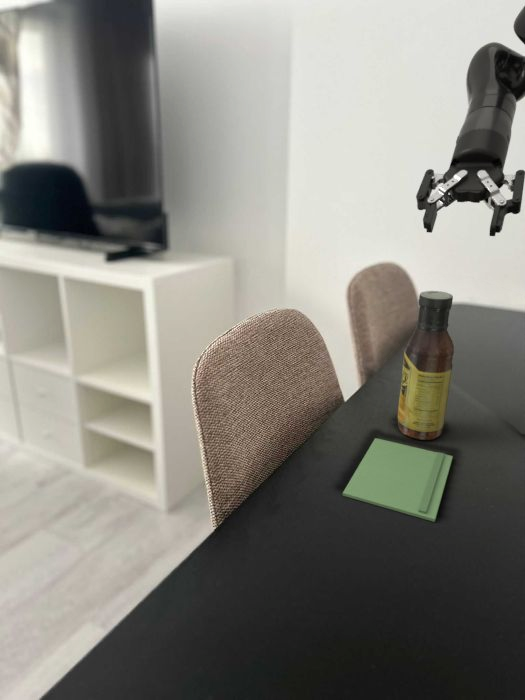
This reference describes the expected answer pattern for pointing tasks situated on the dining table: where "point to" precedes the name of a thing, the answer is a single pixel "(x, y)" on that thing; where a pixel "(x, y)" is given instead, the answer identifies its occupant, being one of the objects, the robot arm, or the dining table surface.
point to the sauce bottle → (427, 369)
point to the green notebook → (401, 479)
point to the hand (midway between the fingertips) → (459, 230)
